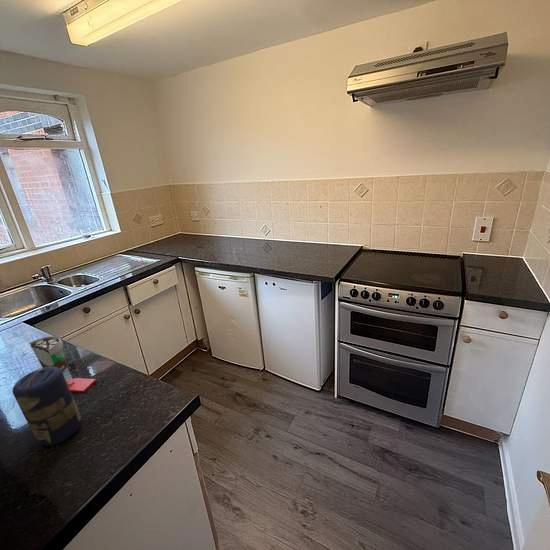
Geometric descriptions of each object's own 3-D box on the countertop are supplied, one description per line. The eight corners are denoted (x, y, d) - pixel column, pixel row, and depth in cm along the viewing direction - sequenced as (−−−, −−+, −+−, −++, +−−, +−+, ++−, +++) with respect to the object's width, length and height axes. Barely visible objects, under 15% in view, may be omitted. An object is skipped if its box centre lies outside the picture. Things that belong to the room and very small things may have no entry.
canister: (28, 447, 71) (-4, 388, 65) (60, 415, 80) (34, 360, 73) (63, 450, 70) (33, 389, 63) (92, 417, 79) (68, 361, 72)
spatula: (29, 388, 92) (27, 385, 91) (43, 377, 96) (42, 374, 96) (84, 392, 88) (83, 389, 87) (96, 380, 92) (95, 377, 92)
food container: (79, 364, 101) (69, 339, 98) (60, 376, 96) (48, 350, 93) (59, 356, 107) (48, 332, 103) (40, 367, 102) (28, 342, 98)
